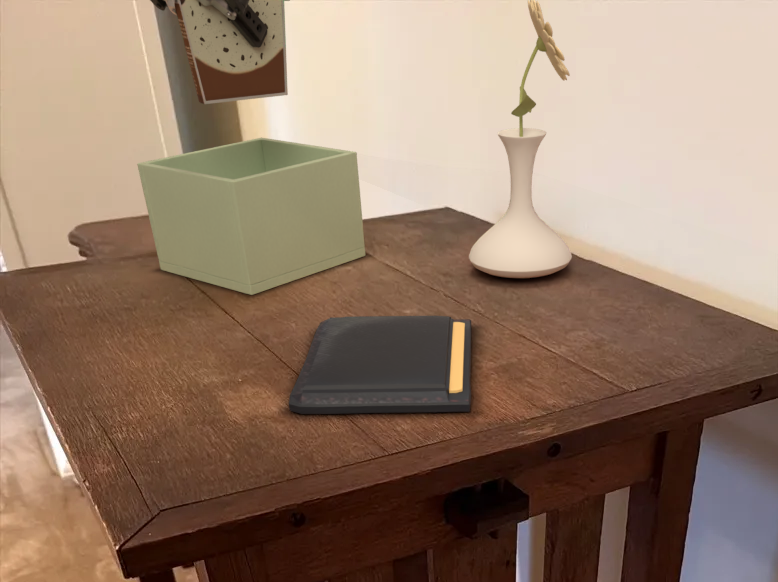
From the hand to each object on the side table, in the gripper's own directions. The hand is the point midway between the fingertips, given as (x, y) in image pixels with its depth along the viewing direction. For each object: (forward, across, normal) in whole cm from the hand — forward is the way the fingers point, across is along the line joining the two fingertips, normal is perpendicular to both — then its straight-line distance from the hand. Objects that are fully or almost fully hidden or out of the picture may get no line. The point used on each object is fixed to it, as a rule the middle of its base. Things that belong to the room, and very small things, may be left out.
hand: (237, 37), depth 92 cm
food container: (+3, 0, +5) cm, 5 cm away
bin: (+16, +1, +15) cm, 22 cm away
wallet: (+5, -32, +26) cm, 42 cm away
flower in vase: (+26, -25, +5) cm, 37 cm away
